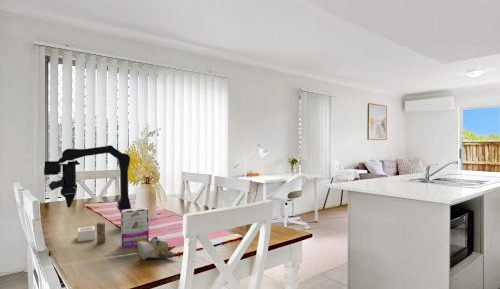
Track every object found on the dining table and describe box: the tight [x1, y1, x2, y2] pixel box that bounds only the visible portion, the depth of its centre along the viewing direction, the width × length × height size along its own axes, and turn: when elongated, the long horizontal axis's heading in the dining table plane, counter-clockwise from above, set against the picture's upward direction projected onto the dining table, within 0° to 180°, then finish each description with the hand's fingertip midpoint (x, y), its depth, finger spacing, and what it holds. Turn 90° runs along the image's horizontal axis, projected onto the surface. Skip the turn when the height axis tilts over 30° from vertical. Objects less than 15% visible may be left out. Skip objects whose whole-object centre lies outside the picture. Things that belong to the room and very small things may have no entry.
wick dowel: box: [96, 221, 106, 245], centre depth 139 cm, size 3×3×9 cm
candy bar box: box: [120, 206, 150, 249], centre depth 136 cm, size 11×5×16 cm, turn 117°
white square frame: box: [77, 225, 96, 242], centre depth 145 cm, size 7×7×4 cm
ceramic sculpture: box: [137, 236, 177, 261], centre depth 123 cm, size 11×9×15 cm
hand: (69, 205), depth 153 cm, fingers open, 9 cm apart
